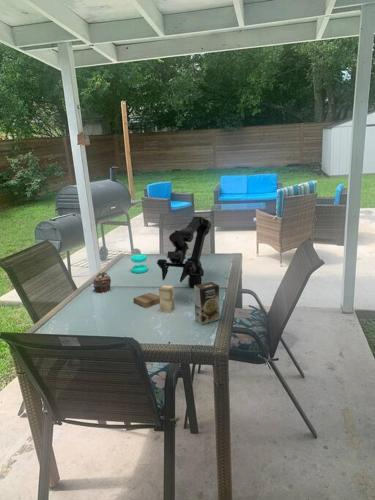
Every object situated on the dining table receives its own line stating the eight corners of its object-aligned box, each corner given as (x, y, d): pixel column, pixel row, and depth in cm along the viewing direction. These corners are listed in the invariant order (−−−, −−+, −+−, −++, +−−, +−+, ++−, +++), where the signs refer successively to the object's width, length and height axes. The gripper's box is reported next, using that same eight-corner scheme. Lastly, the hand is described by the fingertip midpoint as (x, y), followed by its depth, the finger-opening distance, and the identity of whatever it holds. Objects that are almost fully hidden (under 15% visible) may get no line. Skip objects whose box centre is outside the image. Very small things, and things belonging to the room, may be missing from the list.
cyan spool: (127, 257, 241) (137, 253, 249) (128, 272, 244) (138, 268, 252) (139, 258, 236) (150, 254, 244) (141, 274, 238) (151, 270, 247)
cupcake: (105, 286, 221) (103, 269, 218) (115, 289, 214) (113, 272, 212) (90, 290, 214) (88, 273, 212) (99, 294, 208) (97, 276, 205)
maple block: (165, 307, 187) (163, 285, 184) (174, 308, 185) (173, 286, 182) (160, 311, 183) (158, 288, 180) (170, 312, 181) (168, 289, 178)
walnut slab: (150, 298, 201) (149, 292, 200) (162, 303, 193) (161, 297, 192) (133, 303, 194) (133, 297, 193) (145, 309, 187) (145, 303, 186)
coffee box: (202, 325, 166) (200, 289, 162) (195, 319, 171) (193, 285, 167) (220, 320, 170) (219, 285, 166) (212, 315, 175) (211, 281, 171)
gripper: (157, 243, 190) (147, 271, 183) (192, 245, 183) (184, 274, 176) (165, 254, 199) (156, 282, 192) (199, 257, 192) (191, 285, 185)
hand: (171, 280), depth 186 cm, fingers open, 9 cm apart
